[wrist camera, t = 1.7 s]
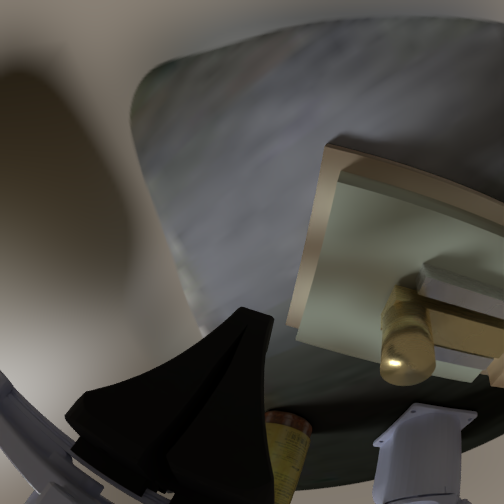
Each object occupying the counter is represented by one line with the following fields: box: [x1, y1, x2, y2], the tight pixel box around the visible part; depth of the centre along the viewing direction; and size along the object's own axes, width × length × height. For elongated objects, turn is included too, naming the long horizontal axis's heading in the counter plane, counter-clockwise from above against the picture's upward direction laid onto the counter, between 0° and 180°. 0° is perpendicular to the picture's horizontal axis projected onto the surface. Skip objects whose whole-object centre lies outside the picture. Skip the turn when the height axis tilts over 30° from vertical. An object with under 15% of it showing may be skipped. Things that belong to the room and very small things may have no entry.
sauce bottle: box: [265, 410, 312, 504], centre depth 21 cm, size 6×6×20 cm
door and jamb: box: [286, 143, 504, 388], centre depth 13 cm, size 12×26×3 cm, turn 84°
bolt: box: [380, 284, 504, 386], centre depth 11 cm, size 2×8×4 cm, turn 84°
